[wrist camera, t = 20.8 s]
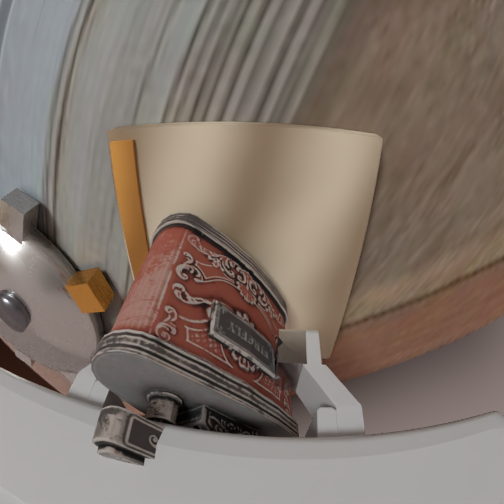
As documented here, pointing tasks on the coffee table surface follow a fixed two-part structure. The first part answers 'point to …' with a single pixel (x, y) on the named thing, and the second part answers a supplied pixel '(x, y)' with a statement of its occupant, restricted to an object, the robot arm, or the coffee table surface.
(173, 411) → the lighter
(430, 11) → the coffee table surface
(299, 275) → the pad
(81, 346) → the sprocket
